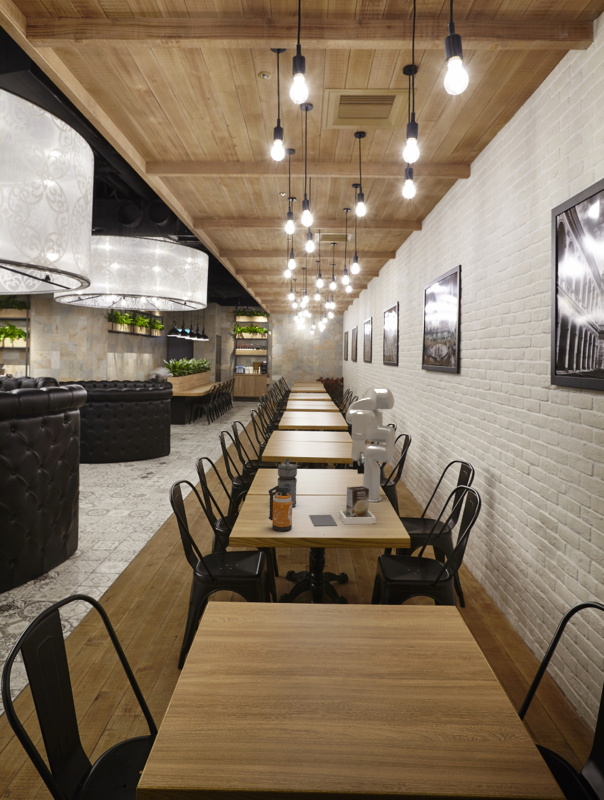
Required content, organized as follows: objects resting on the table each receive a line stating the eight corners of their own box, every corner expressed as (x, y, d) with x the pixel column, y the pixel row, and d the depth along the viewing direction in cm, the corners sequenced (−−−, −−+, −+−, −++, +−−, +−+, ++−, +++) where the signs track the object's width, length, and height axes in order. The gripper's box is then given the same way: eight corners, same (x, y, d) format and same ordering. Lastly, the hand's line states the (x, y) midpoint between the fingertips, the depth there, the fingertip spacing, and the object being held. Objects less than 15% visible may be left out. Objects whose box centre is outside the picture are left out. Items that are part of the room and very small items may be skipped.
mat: (309, 515, 254) (309, 515, 254) (330, 515, 255) (330, 514, 255) (314, 526, 238) (314, 525, 238) (337, 525, 239) (337, 524, 239)
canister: (289, 532, 228) (290, 489, 227) (265, 530, 230) (266, 487, 229) (293, 526, 237) (294, 484, 235) (270, 524, 239) (271, 482, 238)
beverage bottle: (295, 501, 278) (296, 457, 276) (296, 509, 265) (297, 462, 263) (277, 501, 278) (278, 456, 276) (277, 508, 264) (277, 461, 262)
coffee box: (352, 523, 244) (353, 490, 243) (345, 519, 250) (346, 487, 248) (368, 520, 248) (369, 488, 247) (361, 517, 254) (362, 485, 252)
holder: (338, 516, 254) (339, 510, 254) (368, 515, 256) (368, 510, 256) (344, 524, 242) (344, 518, 241) (375, 523, 244) (375, 517, 243)
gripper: (347, 434, 254) (346, 468, 255) (356, 439, 236) (354, 475, 238) (362, 434, 255) (361, 468, 256) (371, 439, 237) (370, 475, 239)
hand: (358, 471), depth 247 cm, fingers open, 9 cm apart
